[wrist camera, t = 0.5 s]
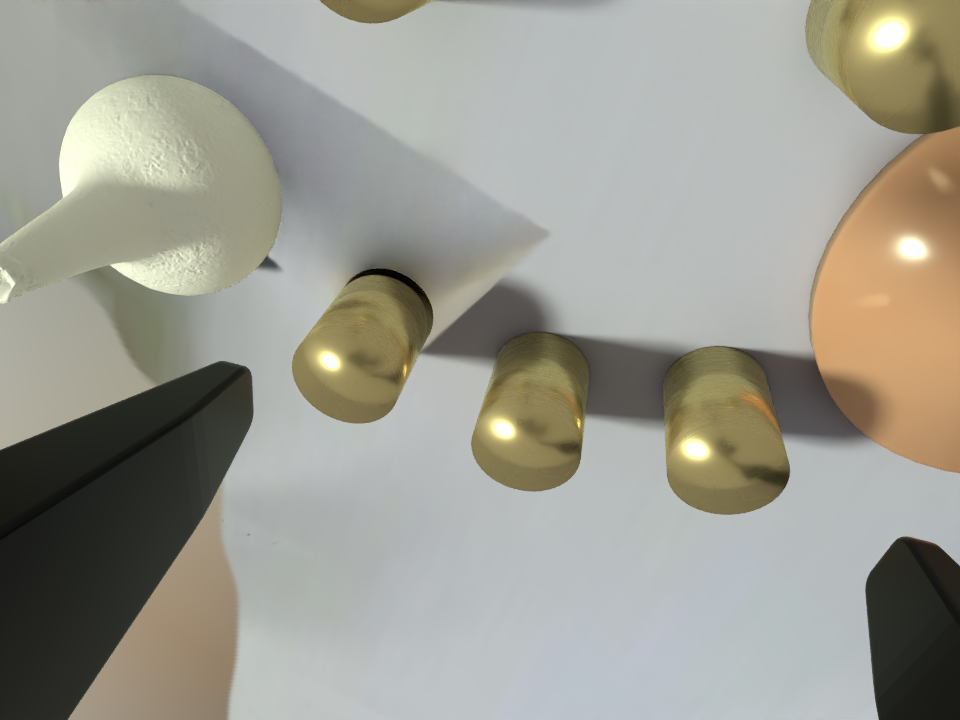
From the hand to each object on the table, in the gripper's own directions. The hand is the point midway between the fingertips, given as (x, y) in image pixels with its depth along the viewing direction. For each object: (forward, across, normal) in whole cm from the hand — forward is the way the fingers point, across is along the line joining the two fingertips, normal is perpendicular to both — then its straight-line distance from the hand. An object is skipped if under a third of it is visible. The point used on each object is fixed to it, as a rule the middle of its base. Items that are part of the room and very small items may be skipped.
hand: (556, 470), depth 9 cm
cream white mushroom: (+12, +12, +2) cm, 17 cm away
